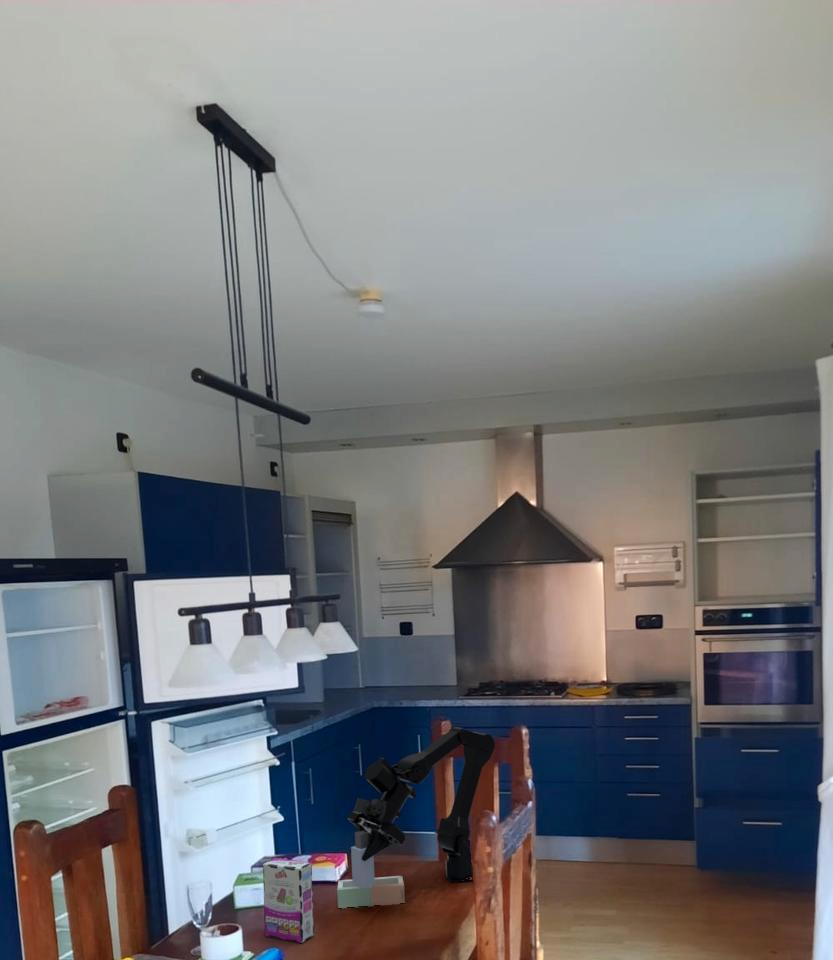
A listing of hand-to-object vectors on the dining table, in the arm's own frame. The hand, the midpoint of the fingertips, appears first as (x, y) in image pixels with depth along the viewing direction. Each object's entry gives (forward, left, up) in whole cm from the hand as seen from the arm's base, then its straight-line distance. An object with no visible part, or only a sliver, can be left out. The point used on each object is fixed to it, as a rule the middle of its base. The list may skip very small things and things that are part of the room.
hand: (358, 858), depth 208 cm
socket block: (-3, -8, -13) cm, 16 cm away
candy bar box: (+17, +11, -13) cm, 24 cm away
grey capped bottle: (-1, -1, -7) cm, 7 cm away
